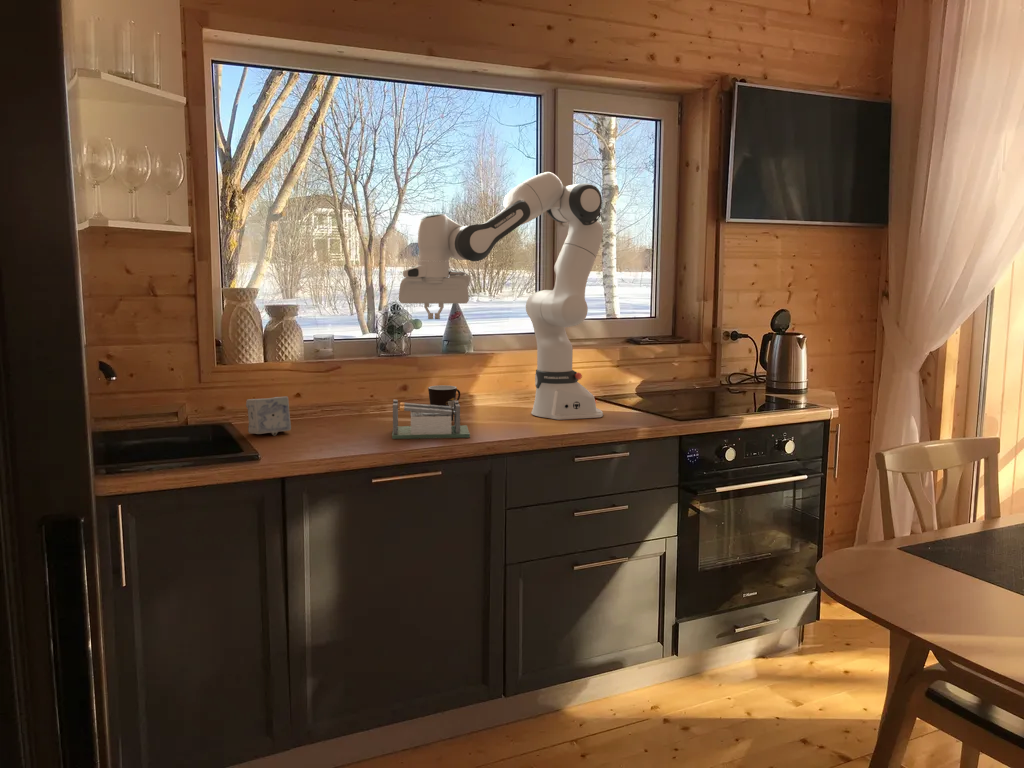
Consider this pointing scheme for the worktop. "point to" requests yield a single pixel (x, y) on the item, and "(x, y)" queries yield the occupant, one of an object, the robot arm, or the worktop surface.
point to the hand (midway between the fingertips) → (434, 319)
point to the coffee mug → (443, 396)
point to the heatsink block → (430, 425)
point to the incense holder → (268, 415)
